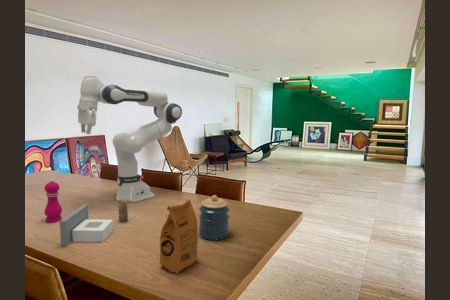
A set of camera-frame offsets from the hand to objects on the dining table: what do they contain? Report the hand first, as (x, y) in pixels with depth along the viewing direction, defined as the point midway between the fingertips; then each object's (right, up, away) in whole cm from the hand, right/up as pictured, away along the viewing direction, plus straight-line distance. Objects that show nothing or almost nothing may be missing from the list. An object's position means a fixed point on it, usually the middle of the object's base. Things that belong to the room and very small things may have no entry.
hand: (85, 133), depth 153 cm
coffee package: (+58, -49, -52) cm, 91 cm away
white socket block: (+18, -45, -31) cm, 58 cm away
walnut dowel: (+25, -43, -14) cm, 52 cm away
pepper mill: (-8, -42, -15) cm, 46 cm away
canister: (+69, -46, -27) cm, 87 cm away
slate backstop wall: (+11, -45, -31) cm, 55 cm away
